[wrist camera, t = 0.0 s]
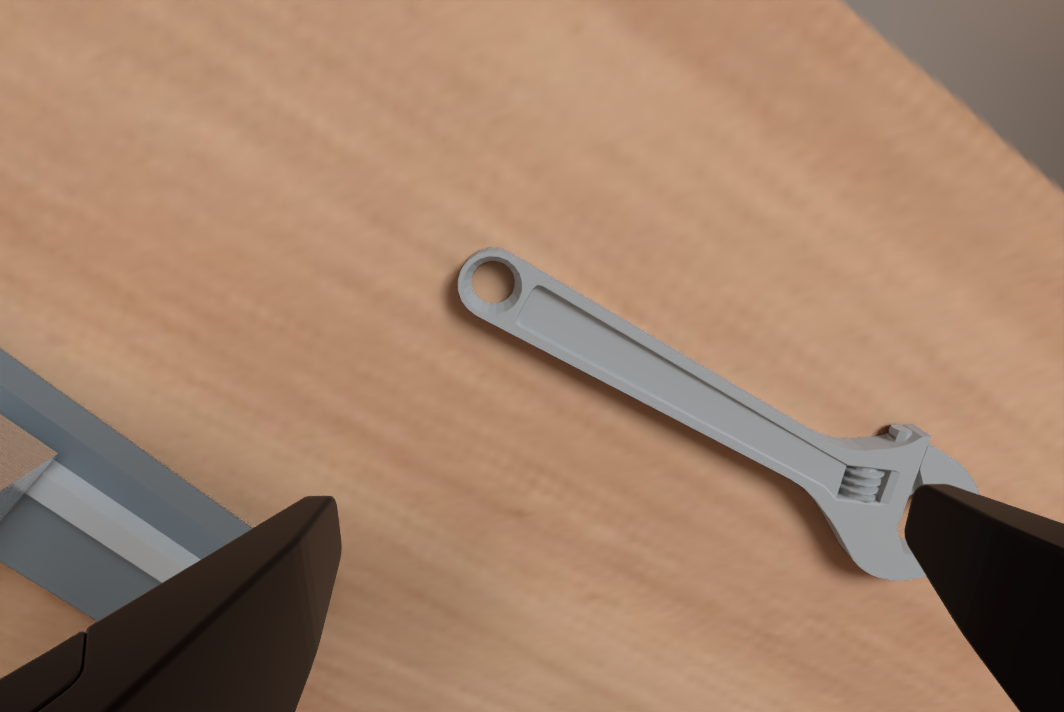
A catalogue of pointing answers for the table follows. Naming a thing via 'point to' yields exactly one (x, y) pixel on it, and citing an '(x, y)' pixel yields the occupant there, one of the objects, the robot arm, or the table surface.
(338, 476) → the table surface
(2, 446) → the sliding jaw
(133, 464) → the plate
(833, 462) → the adjustable wrench
